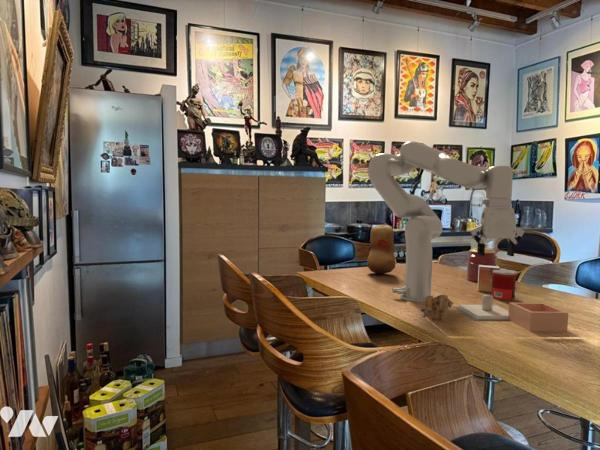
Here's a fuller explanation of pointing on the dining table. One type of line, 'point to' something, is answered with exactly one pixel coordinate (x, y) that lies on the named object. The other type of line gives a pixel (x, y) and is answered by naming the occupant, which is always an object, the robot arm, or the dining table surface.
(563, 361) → the dining table surface
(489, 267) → the small box
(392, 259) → the butternut squash
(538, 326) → the pink square box
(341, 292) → the dining table surface
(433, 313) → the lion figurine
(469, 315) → the mat
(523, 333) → the dining table surface
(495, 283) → the canned food
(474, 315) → the lid
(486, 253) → the canister
